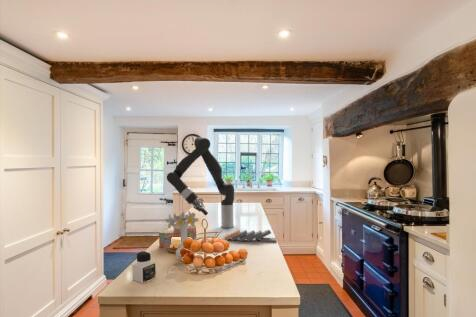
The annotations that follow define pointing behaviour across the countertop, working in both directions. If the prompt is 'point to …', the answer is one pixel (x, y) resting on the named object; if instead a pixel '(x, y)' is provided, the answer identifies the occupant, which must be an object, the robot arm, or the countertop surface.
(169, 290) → the countertop surface
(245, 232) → the slate domino
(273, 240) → the slate domino
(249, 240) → the slate domino
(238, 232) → the terracotta domino
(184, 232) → the flower vase
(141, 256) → the medicine bottle
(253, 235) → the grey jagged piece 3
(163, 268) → the countertop surface
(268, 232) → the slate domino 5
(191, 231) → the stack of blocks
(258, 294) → the countertop surface
